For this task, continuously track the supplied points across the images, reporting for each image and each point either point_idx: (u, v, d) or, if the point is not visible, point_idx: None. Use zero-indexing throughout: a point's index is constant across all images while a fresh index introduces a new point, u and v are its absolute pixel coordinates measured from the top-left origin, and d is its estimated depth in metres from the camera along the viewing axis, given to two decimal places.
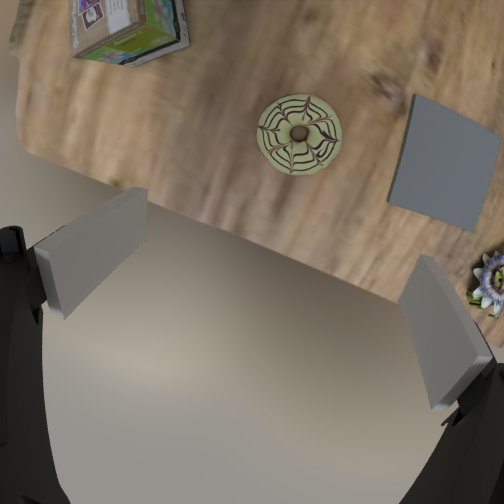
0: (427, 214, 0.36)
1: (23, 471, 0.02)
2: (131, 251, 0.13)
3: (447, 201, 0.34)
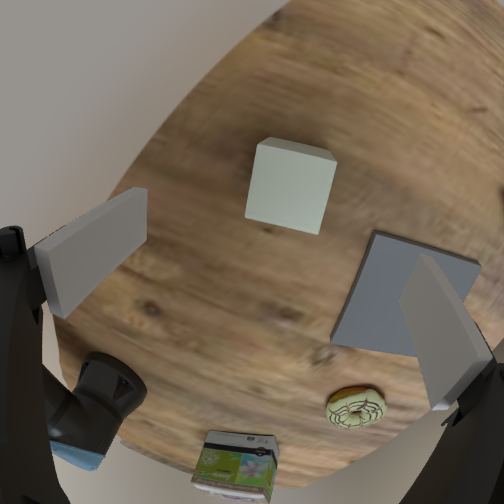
0: None
1: (23, 471, 0.02)
2: (131, 251, 0.13)
3: None
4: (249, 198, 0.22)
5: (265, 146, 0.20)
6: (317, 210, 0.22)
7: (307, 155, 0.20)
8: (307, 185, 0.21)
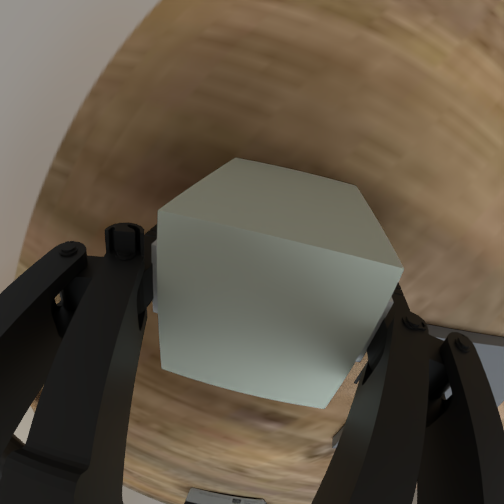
0: None
1: (95, 492, 0.03)
2: None
3: None
4: (163, 339, 0.09)
5: (181, 218, 0.07)
6: (329, 374, 0.08)
7: (314, 248, 0.06)
8: (309, 327, 0.07)
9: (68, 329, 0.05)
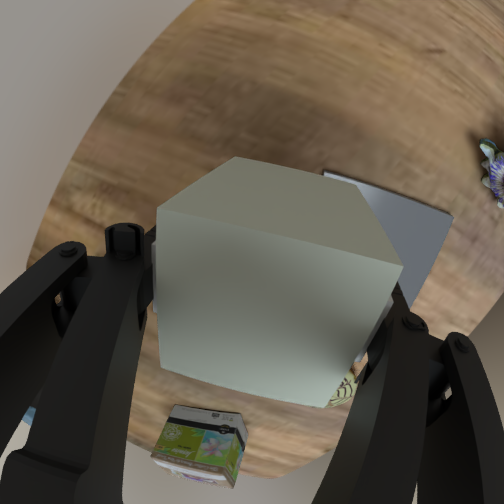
0: (420, 286, 0.31)
1: (95, 492, 0.03)
2: None
3: (411, 262, 0.30)
4: (162, 338, 0.09)
5: (179, 215, 0.07)
6: (329, 373, 0.08)
7: (313, 245, 0.06)
8: (308, 325, 0.07)
9: (68, 329, 0.05)
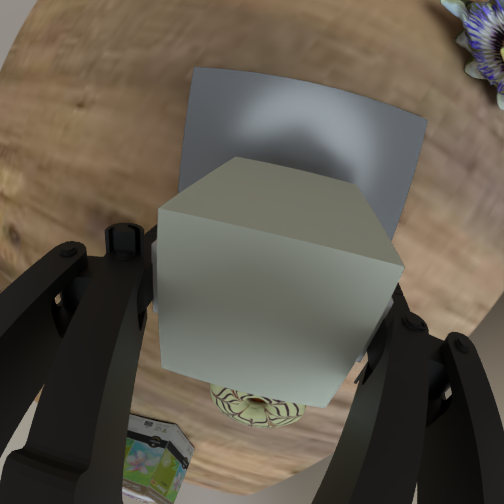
0: None
1: (95, 493, 0.03)
2: None
3: None
4: (163, 338, 0.09)
5: (181, 215, 0.07)
6: (330, 373, 0.08)
7: (315, 246, 0.06)
8: (310, 325, 0.07)
9: (68, 329, 0.05)
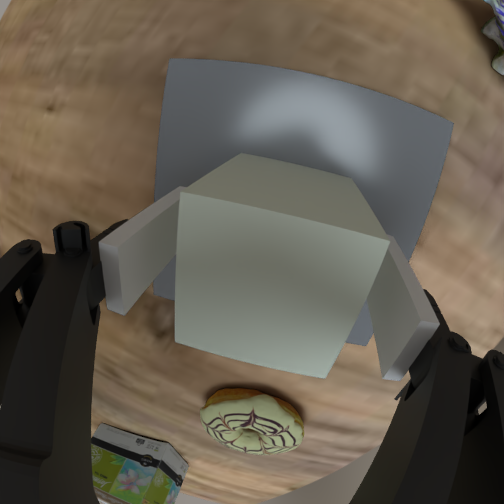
0: None
1: (62, 481, 0.03)
2: None
3: None
4: (178, 311, 0.10)
5: (200, 198, 0.08)
6: (328, 342, 0.09)
7: (313, 222, 0.08)
8: (309, 294, 0.09)
9: (24, 326, 0.05)
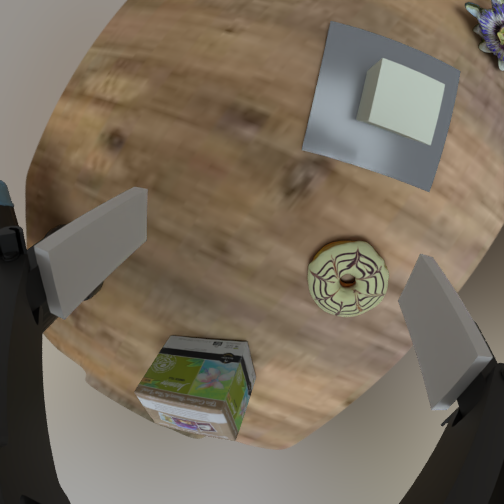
0: (443, 141, 0.26)
1: (23, 471, 0.02)
2: (131, 251, 0.13)
3: None
4: (374, 103, 0.20)
5: (389, 61, 0.18)
6: (430, 122, 0.19)
7: (422, 74, 0.18)
8: (423, 99, 0.19)
9: None
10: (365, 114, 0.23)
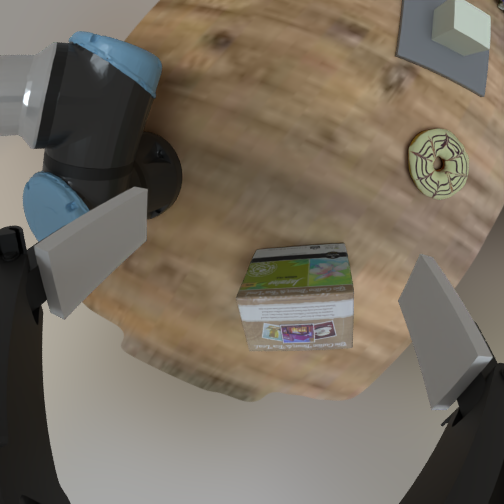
0: (487, 62, 0.25)
1: (23, 471, 0.02)
2: (131, 251, 0.13)
3: None
4: (455, 19, 0.19)
5: None
6: (487, 36, 0.19)
7: (477, 8, 0.17)
8: (480, 22, 0.18)
9: None
10: (446, 28, 0.22)
